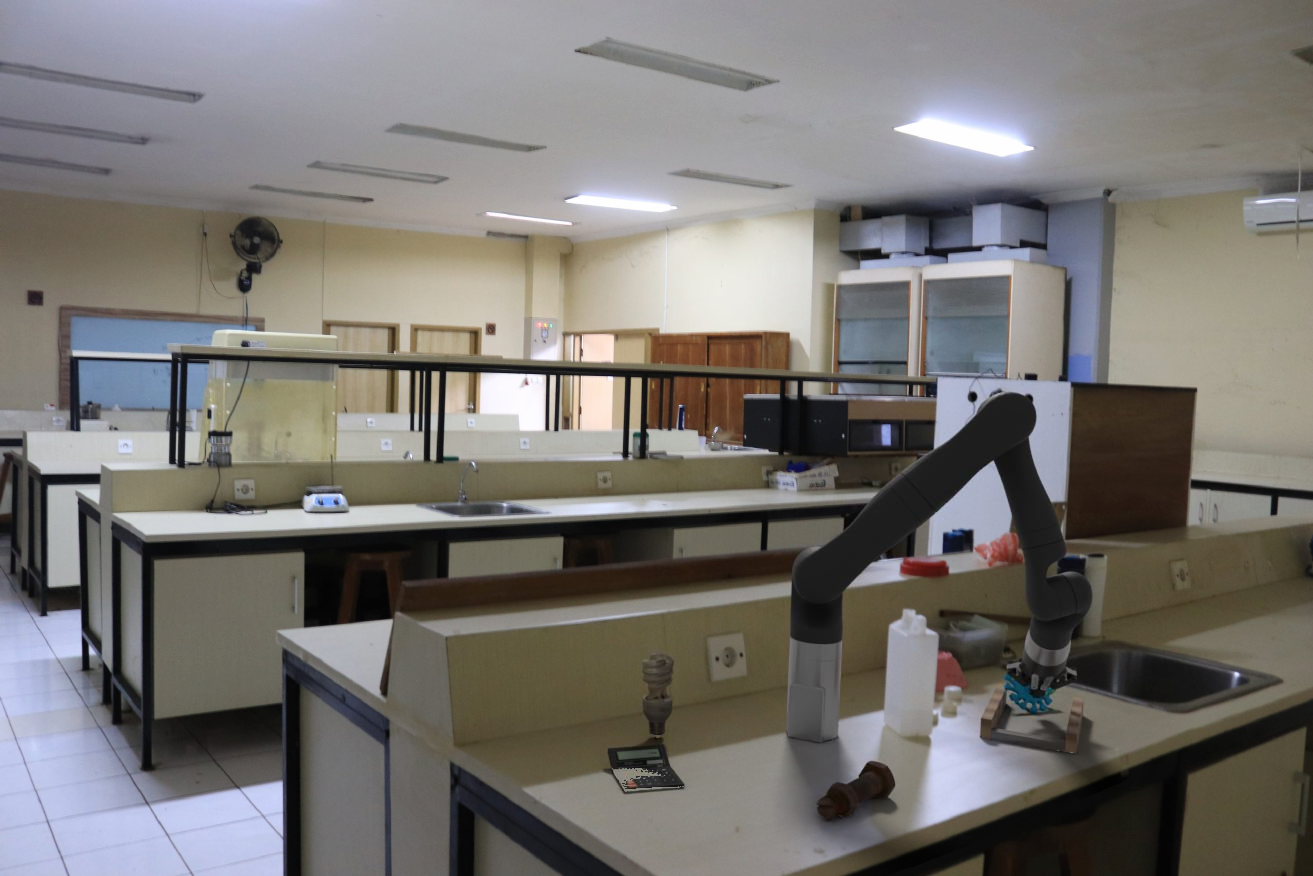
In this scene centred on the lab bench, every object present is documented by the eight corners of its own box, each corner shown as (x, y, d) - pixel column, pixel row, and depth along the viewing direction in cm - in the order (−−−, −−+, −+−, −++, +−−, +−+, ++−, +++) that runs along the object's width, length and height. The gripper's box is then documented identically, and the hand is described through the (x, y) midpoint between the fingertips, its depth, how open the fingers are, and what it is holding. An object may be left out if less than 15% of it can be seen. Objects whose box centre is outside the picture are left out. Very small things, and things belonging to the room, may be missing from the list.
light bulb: (658, 745, 166) (661, 658, 166) (633, 738, 170) (635, 652, 169) (677, 737, 171) (680, 652, 170) (652, 729, 174) (655, 646, 174)
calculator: (624, 794, 147) (625, 775, 146) (606, 765, 158) (607, 747, 158) (684, 789, 149) (685, 770, 149) (662, 761, 160) (663, 743, 160)
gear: (1013, 706, 190) (1001, 661, 196) (998, 720, 194) (987, 675, 201) (1065, 713, 191) (1051, 668, 198) (1049, 727, 196) (1036, 682, 202)
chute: (1076, 754, 169) (1077, 734, 169) (979, 737, 176) (980, 718, 176) (1082, 715, 191) (1083, 697, 191) (996, 701, 198) (997, 684, 198)
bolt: (819, 834, 139) (875, 801, 150) (846, 827, 136) (901, 794, 147) (803, 793, 141) (859, 763, 152) (829, 785, 138) (885, 755, 149)
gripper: (1084, 633, 180) (1071, 680, 192) (1008, 626, 183) (1000, 673, 195) (1087, 669, 175) (1073, 715, 187) (1009, 661, 178) (1000, 707, 190)
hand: (1036, 694), depth 191 cm, fingers closed
